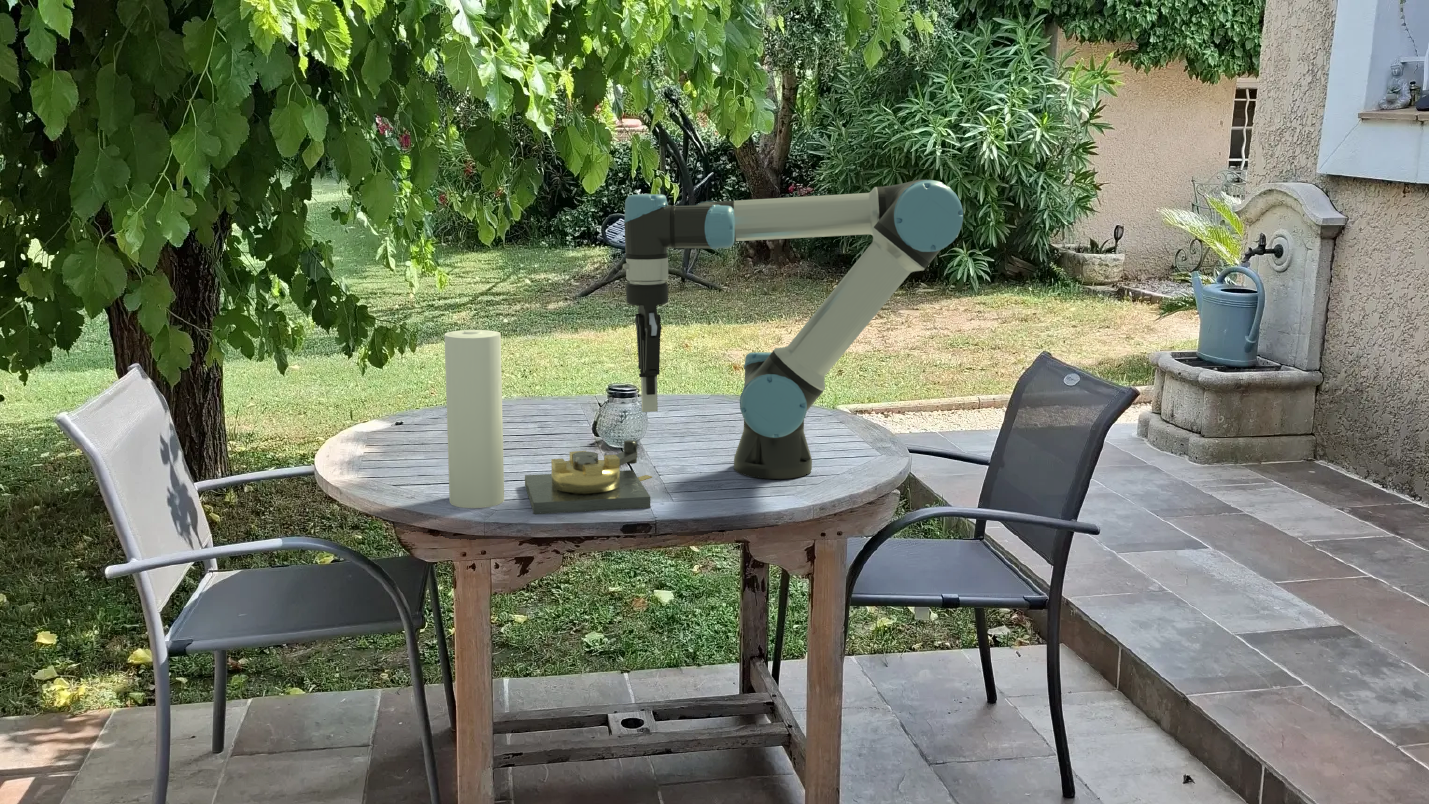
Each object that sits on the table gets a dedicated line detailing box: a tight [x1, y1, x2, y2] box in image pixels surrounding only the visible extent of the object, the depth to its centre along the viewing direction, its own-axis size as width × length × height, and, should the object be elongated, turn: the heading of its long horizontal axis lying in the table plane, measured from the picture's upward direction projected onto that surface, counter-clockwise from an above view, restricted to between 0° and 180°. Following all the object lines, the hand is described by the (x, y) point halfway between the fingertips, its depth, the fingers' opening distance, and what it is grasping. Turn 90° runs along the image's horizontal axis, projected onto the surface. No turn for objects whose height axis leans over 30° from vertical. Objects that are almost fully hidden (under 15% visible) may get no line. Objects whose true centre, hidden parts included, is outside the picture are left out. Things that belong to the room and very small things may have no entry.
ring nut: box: [550, 439, 638, 493], centre depth 222 cm, size 24×12×5 cm, turn 155°
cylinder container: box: [444, 329, 505, 509], centre depth 211 cm, size 9×9×30 cm
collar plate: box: [524, 469, 653, 515], centre depth 219 cm, size 24×21×2 cm
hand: (649, 410), depth 223 cm, fingers closed
